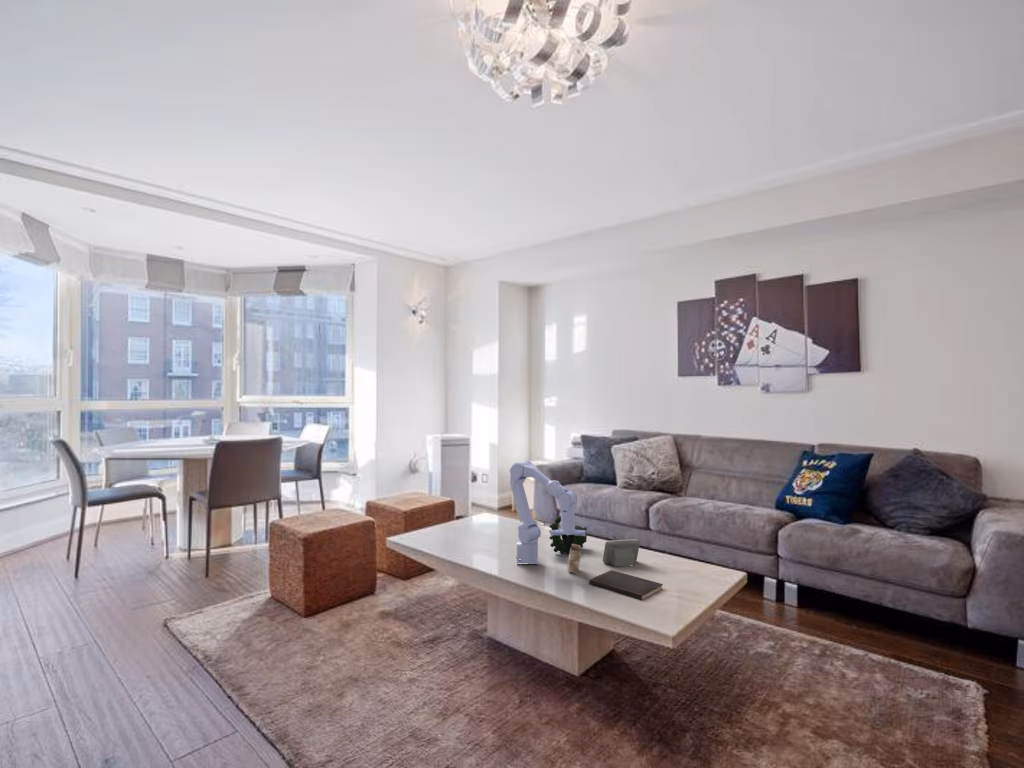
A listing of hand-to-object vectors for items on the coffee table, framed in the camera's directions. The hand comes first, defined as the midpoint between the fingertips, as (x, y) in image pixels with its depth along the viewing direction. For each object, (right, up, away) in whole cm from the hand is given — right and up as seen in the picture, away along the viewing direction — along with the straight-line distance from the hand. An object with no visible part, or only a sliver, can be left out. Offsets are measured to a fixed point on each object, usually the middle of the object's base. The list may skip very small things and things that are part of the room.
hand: (567, 552), depth 217 cm
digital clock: (+25, -8, +9) cm, 27 cm away
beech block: (+2, -7, 0) cm, 7 cm away
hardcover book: (+20, -8, -18) cm, 28 cm away
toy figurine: (+4, -8, +27) cm, 28 cm away
